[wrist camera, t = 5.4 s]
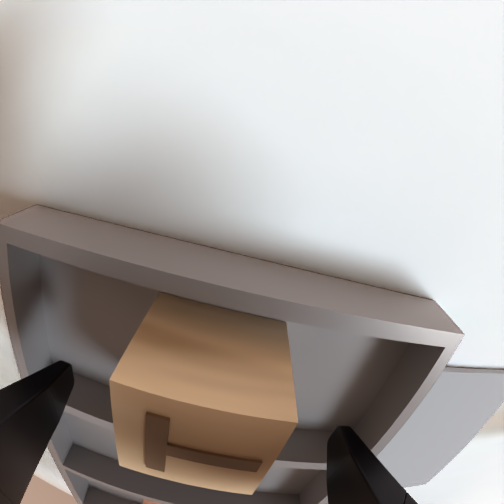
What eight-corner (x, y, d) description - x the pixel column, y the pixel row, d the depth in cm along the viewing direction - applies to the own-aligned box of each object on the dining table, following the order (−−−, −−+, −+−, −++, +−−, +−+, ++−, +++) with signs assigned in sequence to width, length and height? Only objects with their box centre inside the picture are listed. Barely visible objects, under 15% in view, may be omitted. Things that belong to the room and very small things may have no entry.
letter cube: (254, 405, 12) (252, 497, 8) (151, 381, 12) (118, 467, 8) (286, 322, 11) (298, 425, 6) (159, 292, 10) (107, 382, 6)
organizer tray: (271, 523, 19) (271, 546, 17) (86, 481, 18) (77, 503, 16) (434, 300, 11) (464, 334, 9) (36, 204, 10) (-5, 222, 8)
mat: (424, 480, 17) (425, 483, 16) (338, 488, 16) (339, 493, 16) (520, 369, 13) (523, 373, 12) (439, 366, 12) (442, 371, 12)
